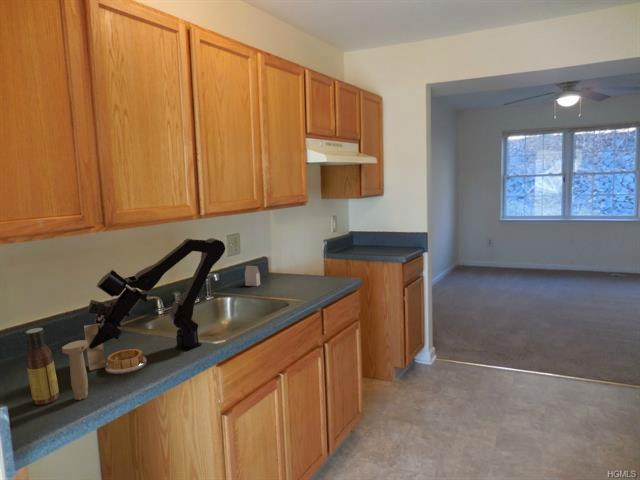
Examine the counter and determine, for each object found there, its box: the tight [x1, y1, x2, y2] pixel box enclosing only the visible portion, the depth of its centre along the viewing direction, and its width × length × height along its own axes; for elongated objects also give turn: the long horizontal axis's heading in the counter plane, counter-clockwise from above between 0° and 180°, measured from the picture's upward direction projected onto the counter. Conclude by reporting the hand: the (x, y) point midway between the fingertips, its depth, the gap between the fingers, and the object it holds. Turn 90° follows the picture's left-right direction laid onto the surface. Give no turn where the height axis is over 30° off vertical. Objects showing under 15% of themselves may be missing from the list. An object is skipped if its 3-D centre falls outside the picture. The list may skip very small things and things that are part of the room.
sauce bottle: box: [24, 327, 60, 406], centre depth 126 cm, size 6×6×20 cm
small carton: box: [244, 265, 261, 287], centre depth 247 cm, size 4×7×10 cm, turn 68°
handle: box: [61, 339, 89, 401], centre depth 127 cm, size 5×6×15 cm
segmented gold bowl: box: [104, 348, 148, 375], centre depth 148 cm, size 12×12×4 cm
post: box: [83, 323, 106, 371], centre depth 148 cm, size 4×4×13 cm
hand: (89, 345), depth 147 cm, fingers closed on post, 4 cm apart
